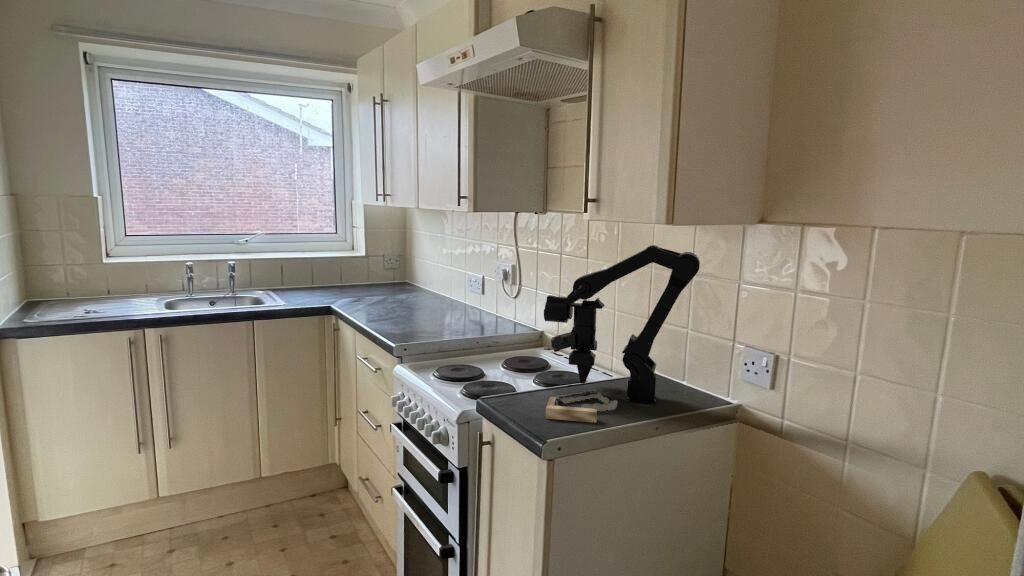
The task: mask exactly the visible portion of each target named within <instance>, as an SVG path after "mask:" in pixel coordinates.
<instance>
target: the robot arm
mask: <svg viewBox="0 0 1024 576" xmlns="http://www.w3.org/2000/svg"><path fill="white" fill-rule="evenodd" d="M652 263H653V264H656V265H659V266H661V267H664V268H666V269H669V270H671V273H670V276H669V279H668V281H667V285H666V286H665V289H664V290H663V292H662V293H661V295H660V298H659V299H658V301H657V303H656V305H655V307H654V309H653V310H652V312H651V314H650V316H649V317H648V319H647V321H646V323H645V325H644V327H643V329H642V330H641V331H640V333H638V335H637V336H636V335H635V334H631V336H630V337H629V340H628V342H627V344H626V345H625V346H624V348H623V350H622V351H621V354H623V355H622V363H623V366H624V367H625V368H626V369H627V370H628V371H629V377H628V378H627V379H626V380H627V383H626V386H627V387H626V397H627V398H628V402H631V403H632V402H634V403H645V404H656V403H657V402H656V401H657V400H656V388H657V387H656V384H657V383H656V382H657V381H656V380H657V377H656V373H655V370H656V367H657V363H656V362H655V361H654V360H653V358H651V356H650V353H651V350H652V348H653V344H654V341H655V339H656V337H657V335H658V333H659V332H660V330H661V328H662V326H663V324H665V323H664V322H665V321H666V319H667V317H668V315H669V314H670V312H671V310H672V308H673V306H674V305H675V303H676V302H677V300H678V298H679V296H680V294H681V292H683V290H684V289H685V288H686V287H687V286H688V285H689V284H690V283H691V281H692V280H693V279H694V278H695V276H696V275H697V274H698V273H699V270H700V268H701V267H700V264H701V263H700V259H699V257H698V256H697V254H695V253H694V252H691V251H684V252H677V251H675V250H674V251H673V250H669V249H667V248H662V247H660V246H658V245H655V244H654V245H653V244H651V245H649V246H648V247H646V248H645V249H643V250H641V251H639V252H637V253H635V254H633V255H630V256H629V257H627V258H625V259H624V260H623V259H622V260H621V261H619V262H617V263H615V264H613V265H612V266H609V267H607V268H605V269H602V270H601V269H600V270H597V271H593V272H591V273H588V274H587V273H586V274H584V275H582V276H579V278H577V279H575V281H574V282H573V286H572V291H571V292H570V293H569V294H568V295H566V296H556V295H547V296H546V300H545V301H546V302H545V305H544V309H543V318H544V322H549V323H550V322H553V323H564V324H567V323H568V322H569V320H572V318H573V321H572V322H573V323H572V325H573V326H572V329H571V330H570V331H569V332H566V333H562V334H557V335H555V336H553V337H551V339H550V343H551V348H552V349H553V352H554V353H557V352H560V351H562V350H565V349H568V348H570V350H572V351H571V352H570V353H569V355H568V364H569V365H571V366H576V367H577V368H576V369H577V372H578V373H577V374H578V377H579V382H580V384H585V383H586V381H587V379H588V377H589V375H590V373H591V370H592V368H593V367H594V366H595V361H596V355H597V354H595V353H594V352H593V351H597V349H598V340H596V332H597V309H599V310H600V309H601V310H602V309H604V307H605V303H604V302H602V301H601V300H600V298H599V297H597V298H595V300H589V299H591V298H593V297H594V296H595V295H596V294H597V293H599V292H601V291H602V290H604V289H605V288H606V287H607V286H608V285H610V284H611V283H613V282H616V281H618V280H620V279H621V278H623V277H626V276H627V275H630V274H632V273H634V272H635V271H638V270H640V269H642V268H644V267H646V266H648V265H650V264H652ZM579 300H582V302H581V303H580V302H578V301H579Z"/></svg>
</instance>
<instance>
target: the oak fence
mask: <svg viewBox="0 0 1024 576" xmlns="http://www.w3.org/2000/svg"><path fill="white" fill-rule="evenodd" d="M545 419H547V420H559V421H571V422H581V423H593V422H594V424H595V423H597V422H598V421H597V420H598V412H597V409H590V408H580V407H577V406H576V407H575V406H569V407H565V406H558V405H557V400H556V396H549V399H548V401H547V404H546V407H545Z"/></svg>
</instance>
